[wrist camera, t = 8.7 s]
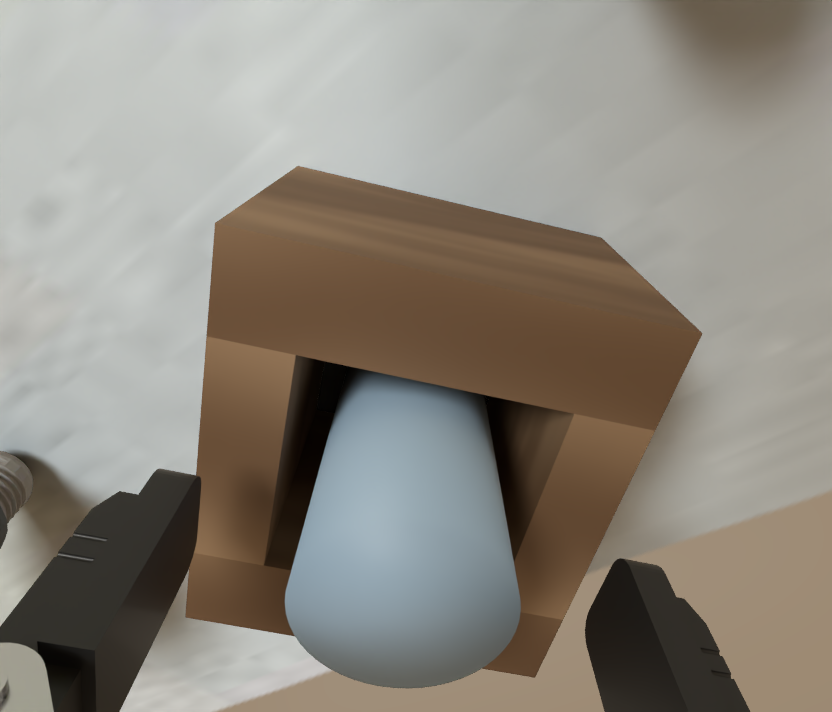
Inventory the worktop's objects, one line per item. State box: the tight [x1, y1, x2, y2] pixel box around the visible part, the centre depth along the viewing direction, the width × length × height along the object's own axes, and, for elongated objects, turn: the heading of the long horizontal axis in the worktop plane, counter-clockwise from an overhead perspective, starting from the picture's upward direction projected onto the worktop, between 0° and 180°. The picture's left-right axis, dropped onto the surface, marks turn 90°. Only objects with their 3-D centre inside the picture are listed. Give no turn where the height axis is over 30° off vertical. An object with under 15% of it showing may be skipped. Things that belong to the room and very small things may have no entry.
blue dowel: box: [285, 366, 521, 688], centre depth 14 cm, size 4×4×10 cm
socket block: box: [186, 166, 702, 677], centre depth 16 cm, size 10×9×7 cm
